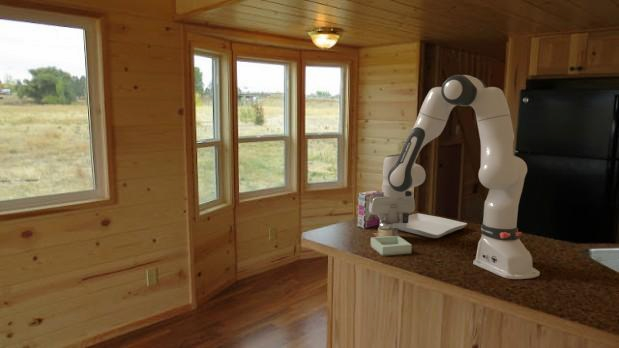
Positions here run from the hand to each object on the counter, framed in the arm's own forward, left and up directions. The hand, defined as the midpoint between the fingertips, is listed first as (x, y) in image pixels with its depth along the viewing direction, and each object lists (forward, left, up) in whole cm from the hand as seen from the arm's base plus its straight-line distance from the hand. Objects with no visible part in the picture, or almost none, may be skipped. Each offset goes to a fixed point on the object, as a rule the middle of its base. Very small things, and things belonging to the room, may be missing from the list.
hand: (391, 223), depth 184 cm
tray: (-15, +7, -6) cm, 18 cm away
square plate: (+7, -21, -7) cm, 23 cm away
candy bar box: (+18, +3, -6) cm, 19 cm away
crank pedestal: (-1, +5, -6) cm, 8 cm away
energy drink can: (0, 0, -6) cm, 6 cm away
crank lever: (-5, +1, 0) cm, 5 cm away
